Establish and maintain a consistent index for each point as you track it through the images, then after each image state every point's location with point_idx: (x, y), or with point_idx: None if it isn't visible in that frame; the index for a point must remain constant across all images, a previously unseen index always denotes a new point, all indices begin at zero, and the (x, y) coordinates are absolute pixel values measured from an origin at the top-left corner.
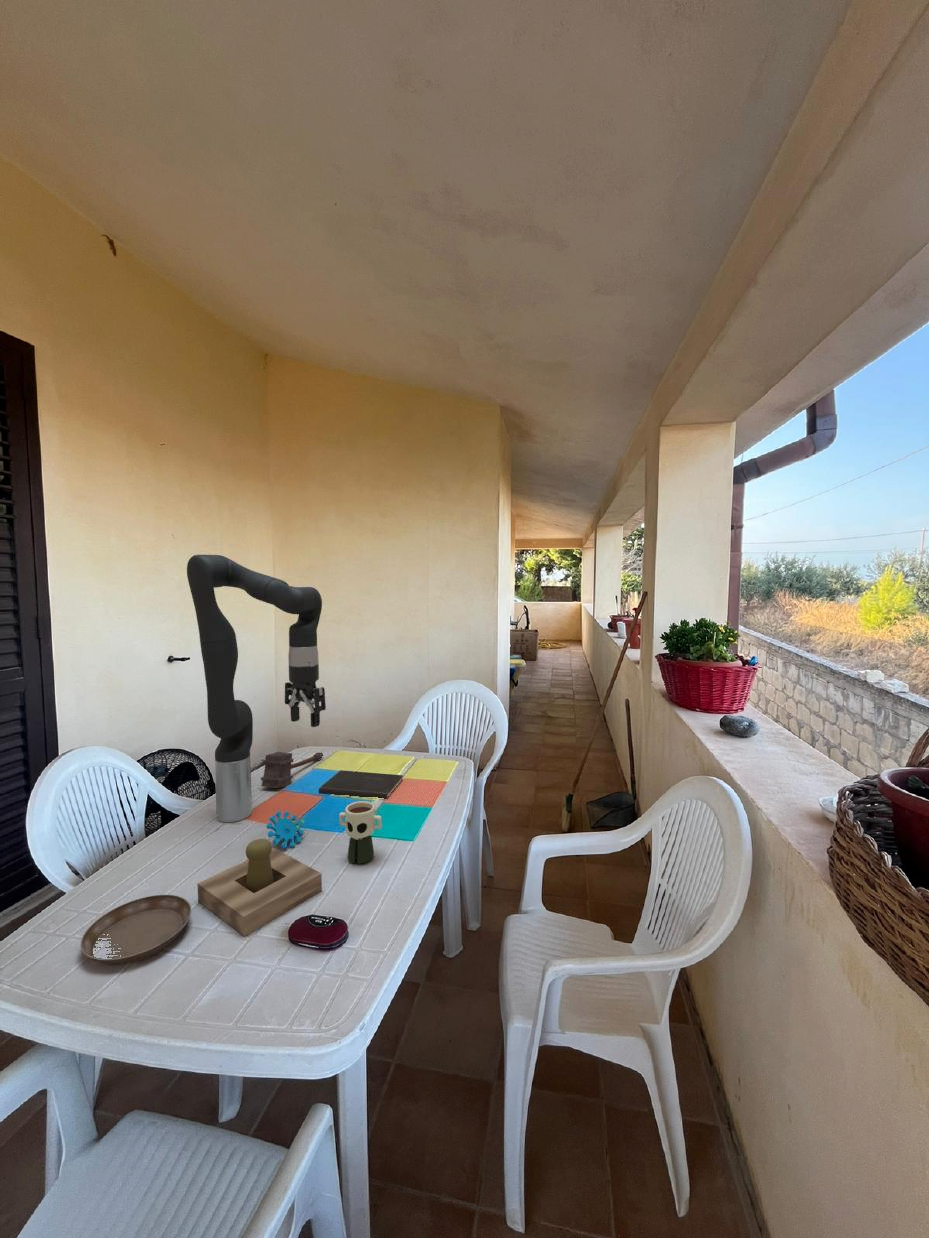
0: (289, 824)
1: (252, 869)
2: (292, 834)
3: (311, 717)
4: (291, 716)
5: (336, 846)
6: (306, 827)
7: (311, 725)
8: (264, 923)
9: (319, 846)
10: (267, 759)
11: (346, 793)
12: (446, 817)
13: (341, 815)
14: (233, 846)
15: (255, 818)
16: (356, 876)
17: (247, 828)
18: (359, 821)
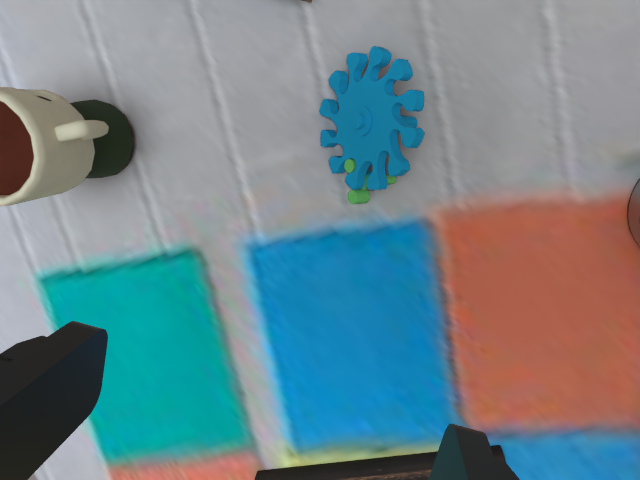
0: (366, 143)
1: None
2: (342, 128)
3: (14, 376)
4: (485, 465)
5: (208, 168)
6: (374, 230)
7: (86, 327)
8: None
9: (254, 147)
10: None
11: (395, 461)
12: None
13: (74, 121)
14: (521, 28)
15: (593, 217)
16: (53, 54)
17: (567, 147)
18: None
